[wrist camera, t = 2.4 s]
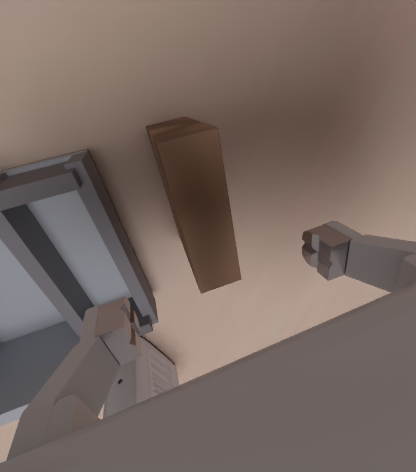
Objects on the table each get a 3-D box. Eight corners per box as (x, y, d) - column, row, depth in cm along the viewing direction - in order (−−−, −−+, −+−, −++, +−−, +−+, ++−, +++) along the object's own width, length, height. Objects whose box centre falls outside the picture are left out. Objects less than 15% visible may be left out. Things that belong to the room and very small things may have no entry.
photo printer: (102, 346, 27) (87, 499, 17) (135, 327, 27) (139, 468, 17) (153, 380, 33) (164, 510, 23) (180, 364, 33) (203, 487, 22)
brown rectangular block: (185, 116, 18) (219, 127, 11) (210, 227, 24) (242, 278, 17) (146, 126, 18) (156, 143, 11) (179, 237, 23) (201, 293, 16)
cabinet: (89, 148, 17) (66, 180, 11) (154, 292, 25) (163, 362, 19) (-153, 209, 15) (-371, 297, 9) (1, 345, 23) (-49, 445, 17)
